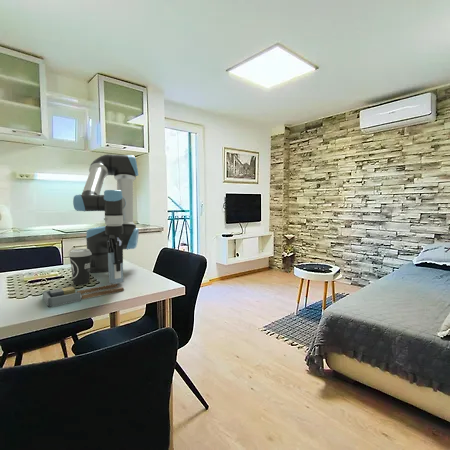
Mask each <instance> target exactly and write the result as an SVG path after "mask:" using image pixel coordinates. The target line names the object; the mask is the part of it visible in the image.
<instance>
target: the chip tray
mask: <svg viewBox="0 0 450 450" xmlns="http://www.w3.org/2000/svg"><path fill="white" fill-rule="evenodd" d="M67 287H68V286H67ZM67 287H65V288H67ZM71 287H74V286H71ZM56 289H57V288H56ZM56 289H54V290H56ZM59 289H61V287H60V288H59ZM50 290H51V289H50ZM50 290H44V291H42V300H43V301H44V303H45V304H46V305H47V306H48V308H51V307H52V308H53V307H56V306H61V305H65V304H71V303H76V302H81V299H82V296H81V295H82V294H80V292H78V293H77V292H76V293H73V294H67V295H62V296H57V297H52V298H51V297H50V294H49V291H50Z"/></svg>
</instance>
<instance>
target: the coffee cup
mask: <svg viewBox="0 0 450 450" xmlns="http://www.w3.org/2000/svg"><path fill="white" fill-rule="evenodd" d="M91 255H92V253H91V252H90V250H89V249H87V248H79V249H72V250H70V251H69V253H68V257H69V262H70V270H71V275H72V276H71V277H72V282H73V285H74V286H75V285H76V286H80V285H81V286H82V285H87V284H89V283H90V279H91V278H90V273H91V272H90V259H91Z"/></svg>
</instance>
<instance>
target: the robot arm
mask: <svg viewBox="0 0 450 450" xmlns="http://www.w3.org/2000/svg"><path fill="white" fill-rule="evenodd" d="M138 168H139V167H138V164H137V158H136V157H135V155H133V154H132V155H131V154H104V155H101V156H99V157H97V158H95V159H94V160H93V161H92V162H91V164H90V165H89V168H88V171H89V174H88V177H87V179H86V182H85V185H84V187H83V189H82V193H81V194H75V195H74V196H73V198H72V199H73V201H72V202H73V203H72V204H73V209H74V210H75V211H76V212H104V217H103V221H104V226H97V227H92V228H91V227H90V228H88V229H87V230H86V234H85V235H86V236H85V239H86V249H89V250H90V252H91V253H92V255H91V259H90V273H104V272H109V270H108V253H113V252H114V259H115V263H113V264H114V278H115V279H118V278H121V263H123V262H124V250H126V251H127V250H134V249H136V248H137V246H138V241H139V235H140V234H139V231H140V230H139V228H138V227H137V224H136V223H134V182H135V180H136V177H137V176H139V169H138ZM107 176H113V178H114V180H115V181H116V189H105V190H104V191H103V194H101V191H102V187H103V184H104V180H105V178H107ZM105 225H106V226H105ZM123 264H124V263H123Z"/></svg>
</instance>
